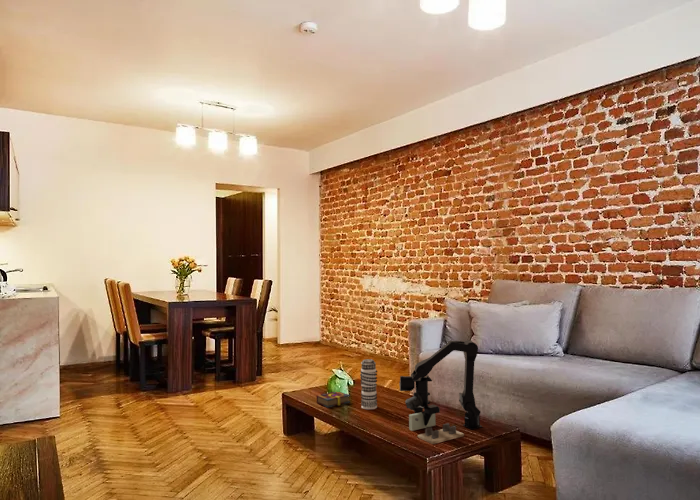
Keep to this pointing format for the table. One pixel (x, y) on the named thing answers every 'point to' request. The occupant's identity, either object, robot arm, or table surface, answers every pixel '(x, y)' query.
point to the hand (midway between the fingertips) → (422, 424)
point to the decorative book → (333, 399)
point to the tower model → (368, 384)
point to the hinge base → (440, 434)
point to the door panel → (420, 421)
